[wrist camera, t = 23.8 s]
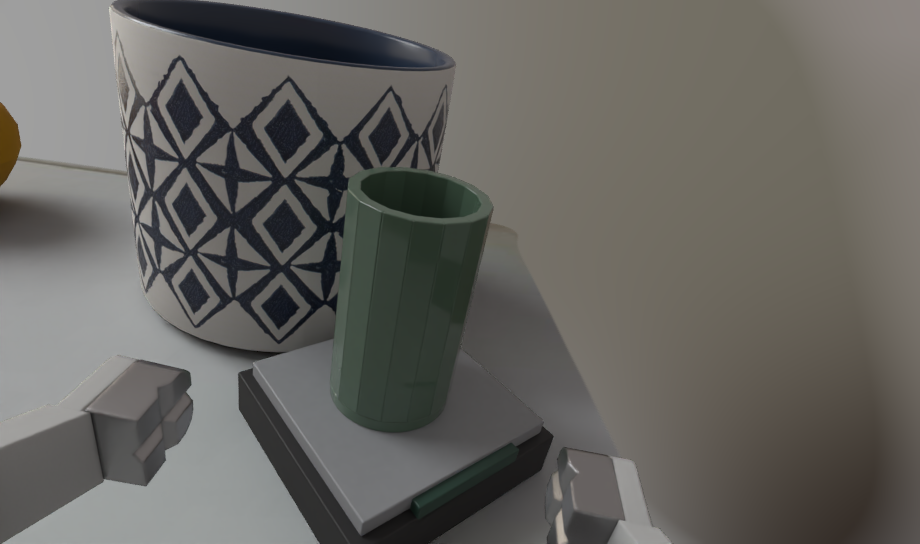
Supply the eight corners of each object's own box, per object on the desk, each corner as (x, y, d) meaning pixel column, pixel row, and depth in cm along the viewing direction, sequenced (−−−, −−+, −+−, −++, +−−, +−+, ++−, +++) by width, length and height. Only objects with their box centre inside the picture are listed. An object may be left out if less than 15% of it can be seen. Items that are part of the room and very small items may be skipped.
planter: (206, 210, 44) (196, -7, 37) (419, 243, 47) (453, 44, 39) (76, 338, 28) (11, 3, 21) (410, 379, 31) (463, 90, 23)
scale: (541, 470, 27) (559, 423, 25) (349, 595, 20) (357, 541, 18) (414, 348, 33) (422, 306, 32) (238, 409, 26) (237, 358, 25)
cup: (429, 449, 22) (476, 237, 18) (306, 409, 23) (321, 195, 18) (459, 370, 27) (503, 189, 22) (358, 339, 28) (380, 157, 23)
